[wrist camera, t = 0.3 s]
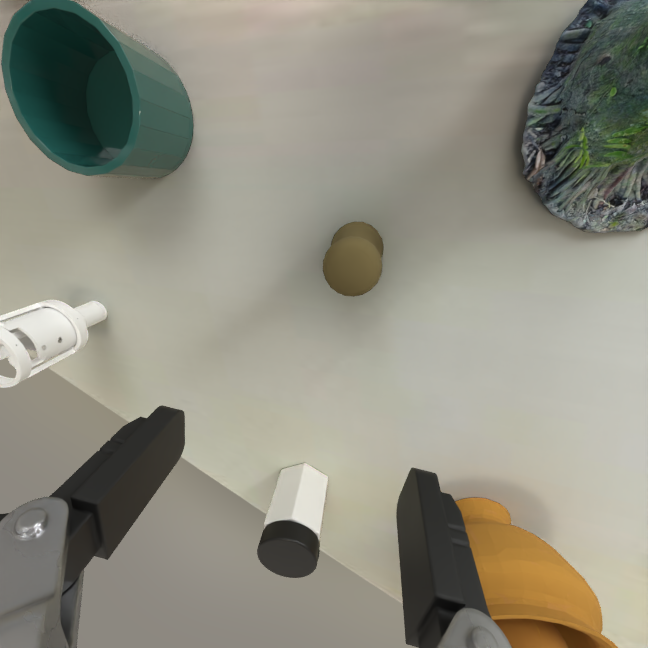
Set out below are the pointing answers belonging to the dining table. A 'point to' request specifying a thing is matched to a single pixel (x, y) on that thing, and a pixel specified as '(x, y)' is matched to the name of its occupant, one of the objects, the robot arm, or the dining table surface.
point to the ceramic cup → (94, 93)
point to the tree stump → (594, 121)
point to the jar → (294, 522)
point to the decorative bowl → (530, 583)
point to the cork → (354, 259)
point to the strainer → (45, 335)
